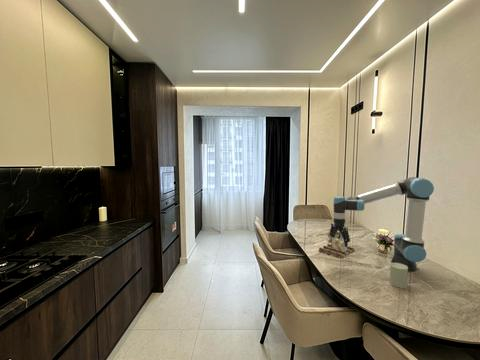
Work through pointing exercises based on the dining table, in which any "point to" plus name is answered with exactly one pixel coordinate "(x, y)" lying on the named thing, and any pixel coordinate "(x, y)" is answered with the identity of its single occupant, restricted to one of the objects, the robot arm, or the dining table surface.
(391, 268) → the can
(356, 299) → the dining table surface
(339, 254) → the slot rack
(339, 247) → the maple bar
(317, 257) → the dining table surface
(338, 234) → the sugar bowl
